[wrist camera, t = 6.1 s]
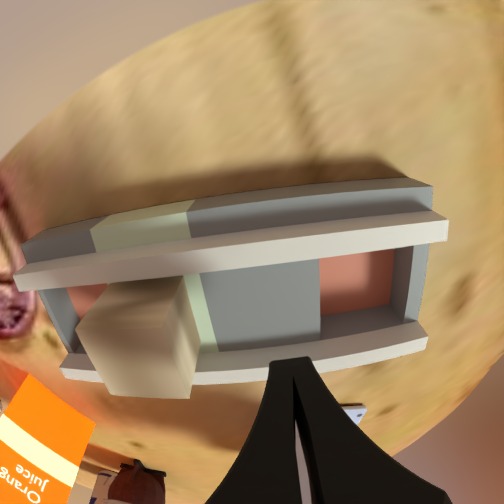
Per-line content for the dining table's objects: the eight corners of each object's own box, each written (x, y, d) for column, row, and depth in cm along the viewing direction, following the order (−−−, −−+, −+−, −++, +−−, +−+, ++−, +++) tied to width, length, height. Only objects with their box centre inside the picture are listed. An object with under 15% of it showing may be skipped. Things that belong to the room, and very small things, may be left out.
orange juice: (28, 372, 21) (-48, 519, 2) (96, 423, 23) (48, 577, 5) (18, 395, 23) (-41, 514, 4) (75, 437, 25) (34, 561, 7)
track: (408, 177, 14) (450, 193, 10) (396, 325, 18) (420, 364, 14) (43, 230, 15) (5, 255, 11) (94, 354, 19) (74, 390, 15)
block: (183, 275, 13) (161, 327, 10) (200, 341, 15) (189, 398, 11) (110, 282, 14) (74, 329, 10) (134, 343, 15) (111, 394, 11)
